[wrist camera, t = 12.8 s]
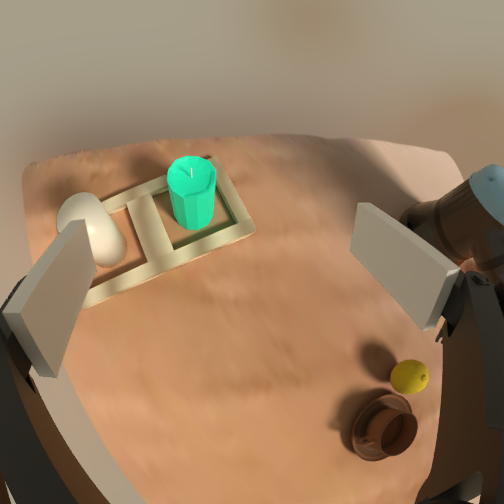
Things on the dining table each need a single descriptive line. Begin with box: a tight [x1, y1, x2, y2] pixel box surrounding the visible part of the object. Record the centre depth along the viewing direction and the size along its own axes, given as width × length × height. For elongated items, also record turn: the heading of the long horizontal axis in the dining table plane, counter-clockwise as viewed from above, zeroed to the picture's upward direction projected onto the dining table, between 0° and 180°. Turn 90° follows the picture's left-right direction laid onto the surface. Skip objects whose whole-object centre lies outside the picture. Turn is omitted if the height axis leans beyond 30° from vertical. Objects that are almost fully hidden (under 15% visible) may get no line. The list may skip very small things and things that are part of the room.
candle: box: [167, 156, 216, 230], centre depth 37 cm, size 6×6×12 cm
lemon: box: [390, 360, 429, 394], centre depth 36 cm, size 6×6×8 cm
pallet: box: [59, 156, 257, 310], centre depth 40 cm, size 28×14×2 cm, turn 117°
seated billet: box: [57, 192, 127, 268], centre depth 33 cm, size 6×6×12 cm
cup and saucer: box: [351, 394, 418, 461], centre depth 34 cm, size 12×12×6 cm
